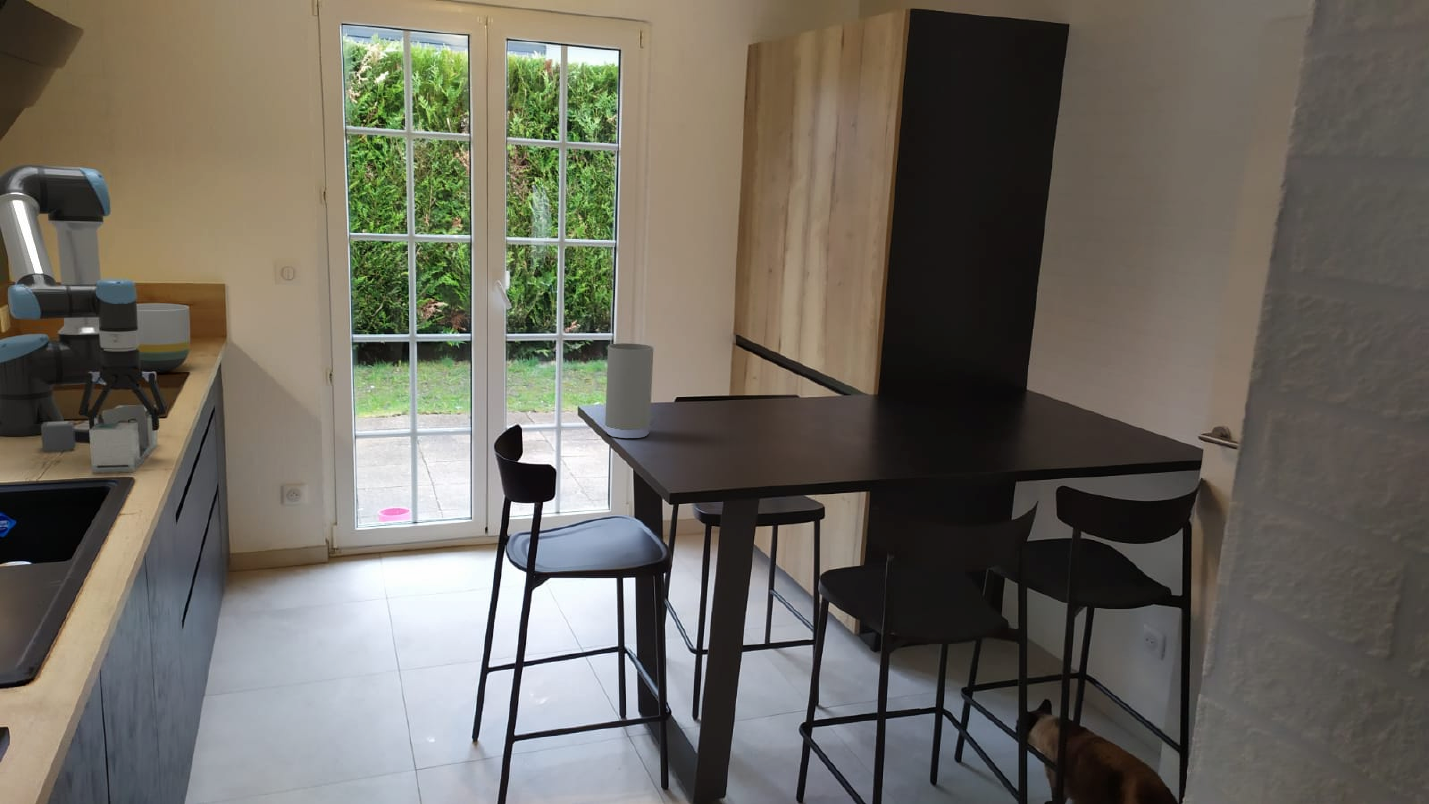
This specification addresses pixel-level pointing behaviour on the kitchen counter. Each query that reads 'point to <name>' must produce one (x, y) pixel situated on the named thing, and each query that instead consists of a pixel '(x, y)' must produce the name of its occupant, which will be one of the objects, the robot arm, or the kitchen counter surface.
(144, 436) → the electrical switch
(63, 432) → the block
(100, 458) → the grey u-shaped block
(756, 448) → the kitchen counter surface
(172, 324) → the planter
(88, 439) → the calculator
